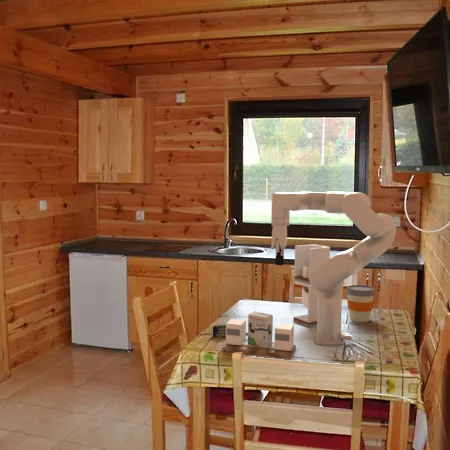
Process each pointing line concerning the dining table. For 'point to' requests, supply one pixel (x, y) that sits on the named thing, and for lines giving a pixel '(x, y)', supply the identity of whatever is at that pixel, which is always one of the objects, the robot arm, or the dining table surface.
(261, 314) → the ink box
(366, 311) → the reusable coffee cup
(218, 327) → the mobile phone
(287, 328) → the mounted modules
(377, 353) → the dining table surface
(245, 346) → the rail board
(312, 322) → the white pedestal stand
